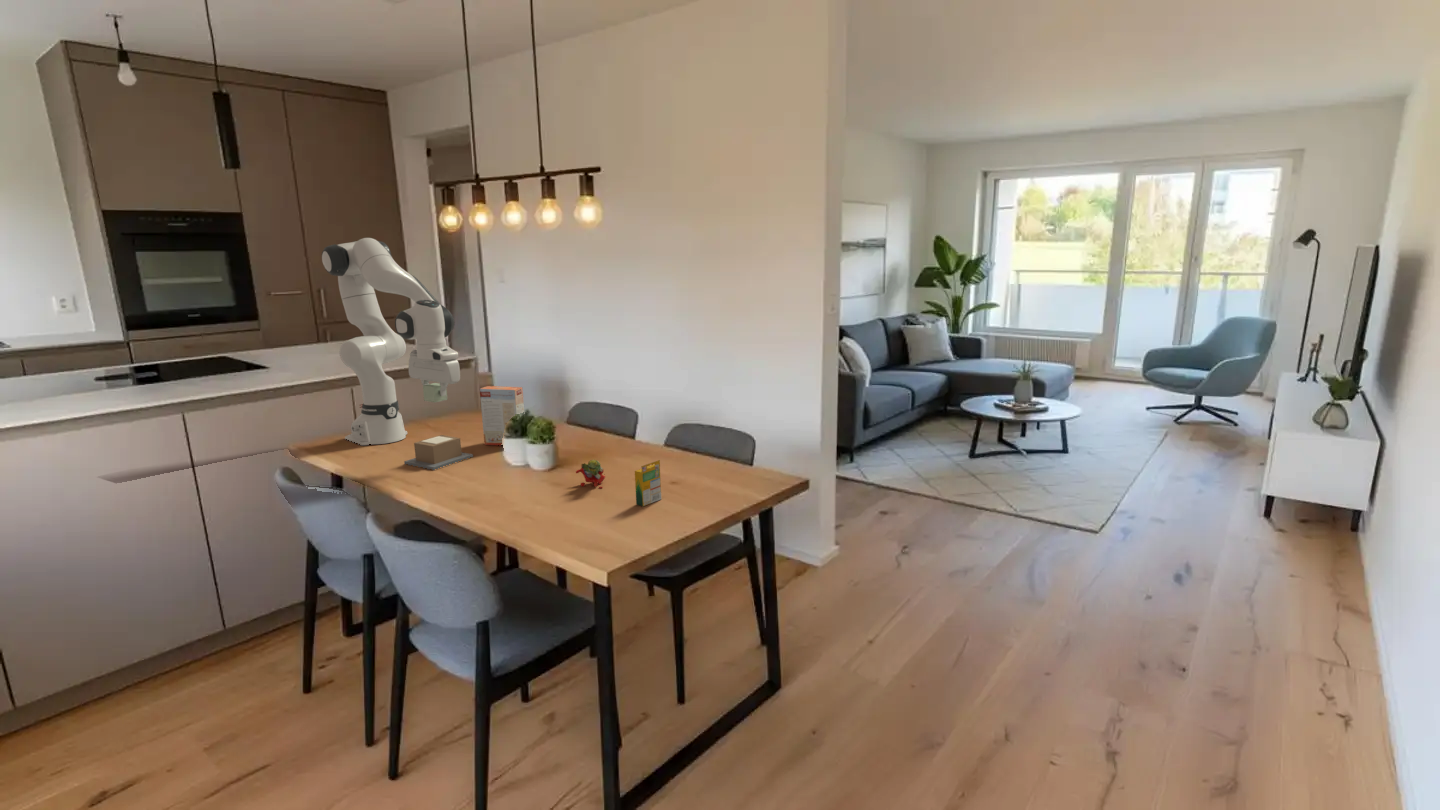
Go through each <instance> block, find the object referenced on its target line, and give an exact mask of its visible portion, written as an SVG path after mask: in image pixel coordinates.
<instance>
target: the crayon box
mask: <svg viewBox="0 0 1440 810" xmlns="http://www.w3.org/2000/svg"><path fill="white" fill-rule="evenodd" d="M661 479H662V478H661V460H660V459H658V460H655V461H652V462H650V463H646V464H644V465H641V468H640V469H636V470H634V482H635V483H634V485H635V504H636V505H637V506H641V507H646V506H648V505H651V504H652V503H653V504H654V503H655V502H658V501H661V500H662V486H661V485H662V482H661Z"/></svg>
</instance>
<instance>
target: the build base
mask: <svg viewBox="0 0 1440 810" xmlns="http://www.w3.org/2000/svg"><path fill="white" fill-rule="evenodd" d="M461 443H462V442H461V437H455V436H451V435H444V434H441V435H440V434H439V435H436V436H432V437H429V438H426V439H422V440H419V441H416V442H413V446H414V455H415V457H414V458H411V459H407V460H404V461H403V462H404V465H406V464H408V465H407V466H411V465H413V466H412V467H415V466H418V467H417V468H420V467H423V468H422V469H425V468H427V469H426V470H430V469H432V470H431V471H435V469H437V470H439V469H441V468H440V467H442V468H444V467H443V466H445V467H447V466H446V465H448V466H450V465H449V464H451V465H453V464H452V463H454V464H456V463H455V462H457V463H459V462H458V461H460V462H462V461H461V460H463V459H466V460H468V459H467V458H469V459H471V458H470V457H472V458H473V457H474V454H473V453H468V452H463V451H462V445H461ZM463 461H464V460H463ZM438 468H439V469H438Z"/></svg>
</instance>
